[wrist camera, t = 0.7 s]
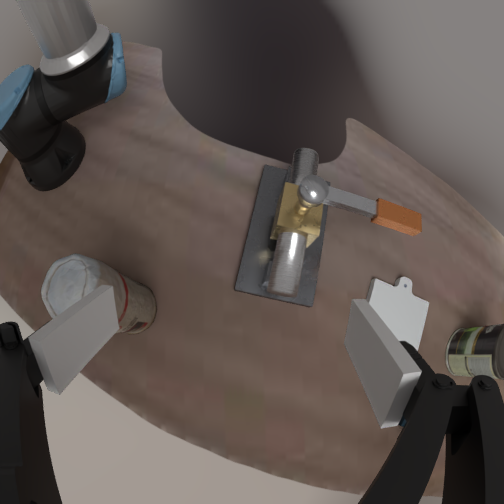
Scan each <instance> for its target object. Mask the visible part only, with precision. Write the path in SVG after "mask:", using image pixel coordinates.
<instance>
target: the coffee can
mask: <svg viewBox="0 0 504 504" xmlns="http://www.w3.org/2000/svg"><path fill="white" fill-rule="evenodd" d="M445 358H446V365H447V368H448V370H449V372H450V373H451V374H452V375H455V376H469V377H474V376H477V375H487V376H489V377H491V378H496V379H502V380H504V324H499V325H491V326H483V327H473V328H460V329H458V330H456V331H455V332H454V333H453V334H452V336H451V338H450V340H449V342H448V344H447V348H446V356H445Z"/></svg>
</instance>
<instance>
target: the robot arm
mask: <svg viewBox="0 0 504 504" xmlns="http://www.w3.org/2000/svg"><path fill="white" fill-rule="evenodd" d="M16 1H17V3H18V5H19V8H20V10H21V12H22V14H23V16H24V18H25V20H26V22H27V24H28V26H29V28H30V30H31V32H32V34H33V36H34V38H35V39H36V41H37V43H38V45H39V47H40V49H41V51H42V52H43V56H42V58H41V61H40V68H38V69H37V70H34V68H33V67H32V66H30V65H25V66H21V67H19V68H18V69H16V70H15V71H14V72H12V73H11V74H10V75H9V76H8V77H7V78H6V79H5V80H4V81H3V82H2V83H1V84H0V141H1V142H2V144H3V145H4V146H5V147H6V148H7V149H8V150H9V151H10V152H11V153H12V154H13V155H14V156H15V157H16V158H17V159H18V160H19V161H20V164H21V167H22V169H23V172H24V174H25V177H26V179H27V181H28V182H29V183H30V184H31V185H32V186H33V187H34V188H35V189H37V190H39V191H49V190H52V189H55V188H57V187H58V186H60V185H62V184H63V183H64V182H66V181H67V180H68V179H69V178H70V177H71V176H72V175H73V174H74V172H75V171H76V170H77V168H78V167H79V165H80V163H81V161H82V159H83V157H84V153H85V140H84V138H83V136H82V134H81V133H80V131H79V130H78V129H77V128H75V127H73V126H72V125H70V124H69V123H67V122H66V121H65V120H67V119H69V118H71V117H73V116H75V115H78V114H80V113H82V112H84V111H86V110H89V109H91V108H93V107H96V106H98V105H101V104H103V103H106V102H108V101H109V100H111V99H113V98H115V97H117V96H120V95H121V94H122V93H123V92H124V91H125V89H126V86H127V82H126V71H125V63H124V56H123V47H122V41H121V36H120V34H119V33H111V34H110V32H109V29H108V28H107V27H106V26H105V25H102V24H97V23H96V22H95V18H94V15H93V12H92V8H91V5H90V2H89V0H16ZM118 330H119V324H118V318H117V312H116V306H115V299H114V291H113V286H109V285H101V286H99V287H98V288H97V289H95V290H94V291H92V292H91V293H89V294H88V295H86V296H85V297H83V298H82V299H81V300H79V301H78V302H76V303H75V304H73V305H72V306H71V307H69V308H68V309H66V310H65V311H63V312H62V313H61V314H59V315H58V316H57V317H55V318H54V319H52V320H51V321H49V322H47V323H46V324H45V325H43V327H41V328H39V329H38V330H37V331H35V332H34V333H33V334H31V335H30V336H29V337H27V338H26V339H25V340H23V339H22V336H21V332H20V329H19V326H18V324H17V323H15V322H6V323H2V324H0V504H62V501H61V497H60V494H59V490H58V487H57V483H56V479H55V475H54V471H53V466H52V462H51V457H50V452H49V446H48V441H47V434H46V427H45V419H44V410H43V398H42V389H41V386H40V383H41V382H42V381H43V380H44V382H45V384H46V387H47V389H48V390H49V391H52V392H54V393H57V394H59V395H60V394H61V393H62V392H63V390H64V389H65V388H66V387H67V386H68V385H69V383H70V382H71V381H72V380H73V379H74V378H75V377H76V376H77V374H78V373H79V372H80V371H81V370H82V369H83V368H84V367H85V365H86V364H87V363H88V362H89V361H90V360H91V359H92V358H93V357H94V356H95V354H96V353H97V352H98V351H99V350H100V349H101V348H102V347H103V346H104V345H105V344H106V342H107V341H108V340H109V339H110V338H111V337H112V336H113V335H114V334H115V333H116V332H117V331H118ZM344 345H345V347H346V349H347V352H348V354H349V356H350V358H351V360H352V363H353V365H354V367H355V369H356V372H357V374H358V376H359V378H360V381H361V383H362V385H363V388H364V390H365V392H366V394H367V397H368V399H369V401H370V404H371V406H372V409H373V411H374V413H375V416H376V418H377V421H378V423H379V425H380V428H386V427H392V426H397V425H398V424H399V422H400V420H401V418H402V416H404V418H405V420H406V423H405V425H404V427H403V429H402V431H401V433H400V435H399V436H398V438H397V441H396V443H395V445H394V447H393V449H392V450H391V452H390V454H389V456H388V458H387V459H386V461H385V463H384V464H383V466H382V468H381V469H380V471H379V473H378V474H377V476H376V477H375V479H374V481H373V482H372V484H371V485H370V487H369V488H368V490H367V491H366V493H365V494H364V496H363V497H362V498H361V500H360V501H359V503H358V504H418V503H419V501H420V499H421V497H422V495H423V493H424V490H425V488H426V486H427V483H428V481H429V479H430V476H431V474H432V471H433V468H434V466H435V463H436V460H437V458H438V455H439V452H440V449H441V446H442V443H443V439H444V436H445V434H446V460H445V478H444V490H443V499H442V504H504V403H503V400H502V396H501V393H500V390H499V387H498V384H497V383H496V381H495V380H494V379H493V378H491V377H489V376H487V375H477V376H474V378H473V379H472V381H471V383H470V385H469V386H467V385H456V383H455V382H454V380H453V379H452V378H450V377H449V376H447V375H444V374H435V373H434V371H433V370H432V369H431V368H430V366H429V365H428V364H427V363H426V361H425V360H424V359H422V356H421V355H420V354H418V351H417V350H416V349H415V348H414V346H412V345H411V344H409V343H408V342H406V341H399V340H398V339H397V338H396V337H395V335H394V334H393V333H392V332H391V330H390V329H389V328H388V326H387V325H386V324H385V323H384V321H383V320H382V319H381V318H380V316H379V315H378V314H377V313H376V312H375V310H374V309H373V308H372V307H371V305H370V304H369V303H368V302H367V300H366V299H352V303H351V309H350V315H349V321H348V326H347V331H346V336H345V341H344Z"/></svg>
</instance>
